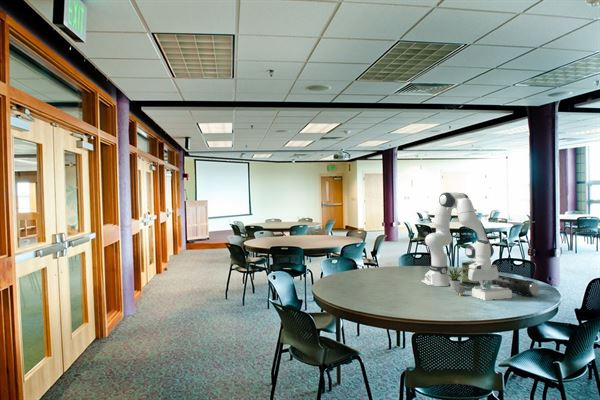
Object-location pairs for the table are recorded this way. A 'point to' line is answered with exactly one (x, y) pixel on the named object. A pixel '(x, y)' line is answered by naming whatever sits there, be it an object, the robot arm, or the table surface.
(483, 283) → the shutter
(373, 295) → the table surface
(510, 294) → the socket box
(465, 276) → the protein box
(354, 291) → the table surface
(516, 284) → the muzzle brake
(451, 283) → the house plant
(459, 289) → the plug
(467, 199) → the robot arm
